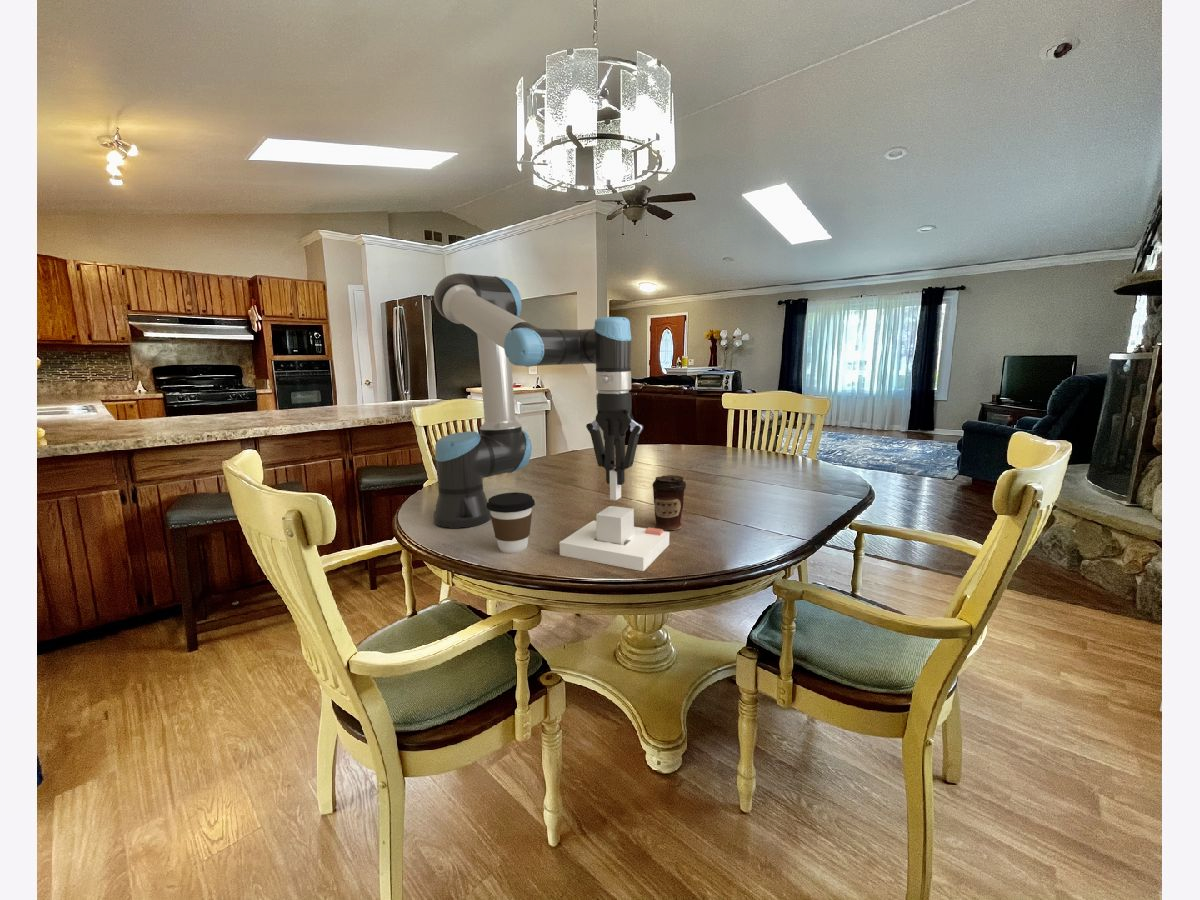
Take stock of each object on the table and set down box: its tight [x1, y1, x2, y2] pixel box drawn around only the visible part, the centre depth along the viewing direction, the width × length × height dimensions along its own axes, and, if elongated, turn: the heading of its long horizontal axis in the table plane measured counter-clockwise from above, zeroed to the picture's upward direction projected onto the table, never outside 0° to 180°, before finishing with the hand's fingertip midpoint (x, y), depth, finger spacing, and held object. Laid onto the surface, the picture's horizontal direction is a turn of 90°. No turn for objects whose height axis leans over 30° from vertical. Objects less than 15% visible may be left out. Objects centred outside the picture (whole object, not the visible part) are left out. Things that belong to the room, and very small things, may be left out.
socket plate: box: [558, 520, 670, 572], centre depth 113 cm, size 16×20×4 cm
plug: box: [595, 505, 635, 545], centre depth 113 cm, size 7×6×9 cm
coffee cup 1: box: [487, 492, 536, 554], centre depth 114 cm, size 11×11×12 cm
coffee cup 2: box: [652, 474, 687, 531], centre depth 126 cm, size 9×8×13 cm
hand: (615, 498), depth 111 cm, fingers closed
